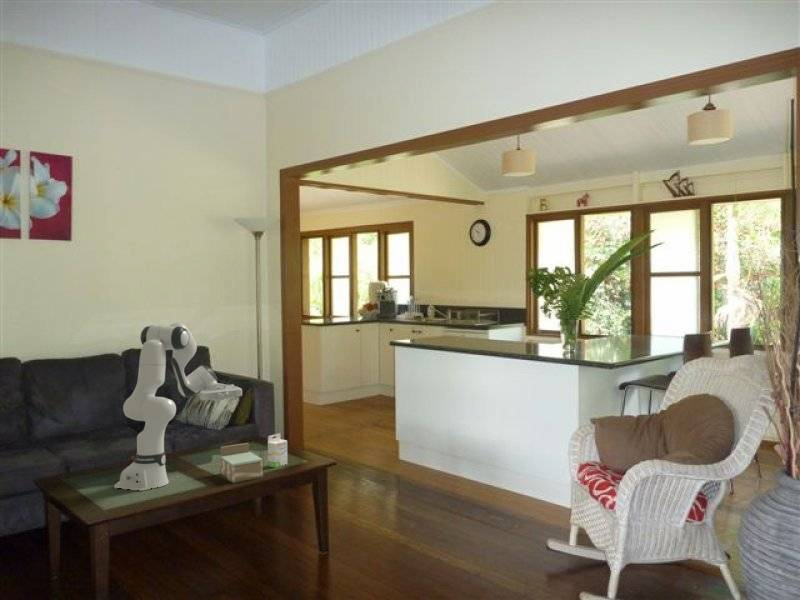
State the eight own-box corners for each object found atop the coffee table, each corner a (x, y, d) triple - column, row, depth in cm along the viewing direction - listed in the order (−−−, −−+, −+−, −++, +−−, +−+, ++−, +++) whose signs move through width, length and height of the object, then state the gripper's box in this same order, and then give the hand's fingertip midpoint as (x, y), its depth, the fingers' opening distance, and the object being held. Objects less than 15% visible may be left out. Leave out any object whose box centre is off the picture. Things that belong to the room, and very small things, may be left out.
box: (220, 473, 304) (219, 458, 303) (249, 468, 311) (248, 453, 311) (232, 482, 288) (232, 467, 288) (262, 477, 296) (262, 461, 296)
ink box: (274, 468, 310) (274, 437, 310) (267, 466, 313) (267, 436, 313) (288, 464, 317) (287, 433, 317) (281, 462, 320) (280, 432, 320)
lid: (219, 457, 303) (219, 447, 303) (248, 452, 311) (248, 442, 311) (232, 466, 288) (232, 455, 288) (262, 461, 296) (262, 450, 296)
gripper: (195, 388, 321) (203, 391, 309) (236, 383, 332) (245, 387, 320) (195, 400, 321) (204, 405, 309) (236, 396, 332) (246, 400, 320)
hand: (225, 395), depth 315 cm, fingers closed
